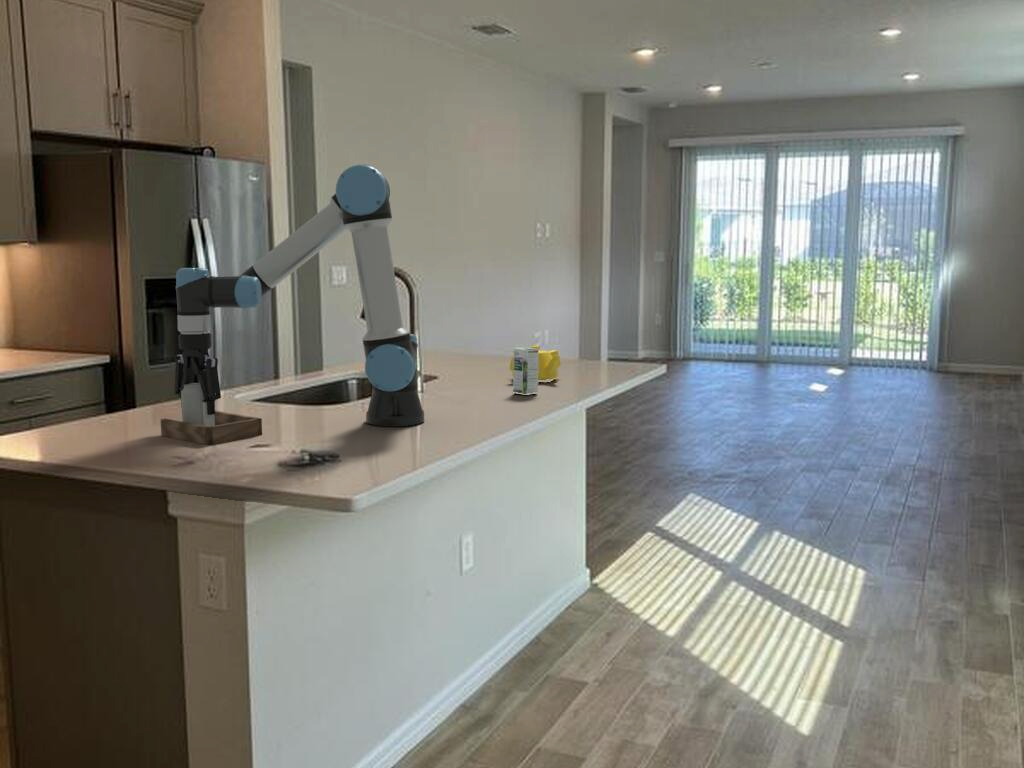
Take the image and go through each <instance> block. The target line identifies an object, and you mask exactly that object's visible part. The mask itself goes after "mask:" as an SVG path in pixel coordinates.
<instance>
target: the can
mask: <svg viewBox="0 0 1024 768" xmlns="http://www.w3.org/2000/svg"><path fill="white" fill-rule="evenodd" d="M183 386H184V389H183V390H182V391H181V398H180V402H181V401H182V408H181V418H182V419H181V421H182V422H187V423H192V424H198V425H203V401H202V400H204V395H203V392H202V388H201V385H200V382H193V383H190V384H185V385H183ZM203 426H204V425H203Z"/></svg>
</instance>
